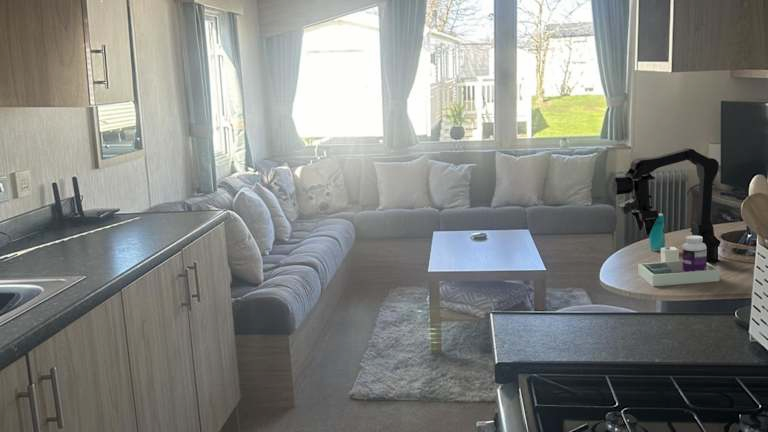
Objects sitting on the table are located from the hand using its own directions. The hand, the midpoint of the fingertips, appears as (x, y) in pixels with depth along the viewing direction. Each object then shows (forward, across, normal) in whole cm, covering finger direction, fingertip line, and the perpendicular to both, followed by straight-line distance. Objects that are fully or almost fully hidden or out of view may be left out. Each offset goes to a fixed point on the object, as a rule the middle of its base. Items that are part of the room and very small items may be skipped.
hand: (643, 232), depth 286 cm
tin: (+13, +18, -1) cm, 22 cm away
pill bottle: (+14, +18, +12) cm, 25 cm away
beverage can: (+14, -23, +12) cm, 29 cm away
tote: (+13, +18, +6) cm, 23 cm away
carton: (+14, +3, +8) cm, 16 cm away
